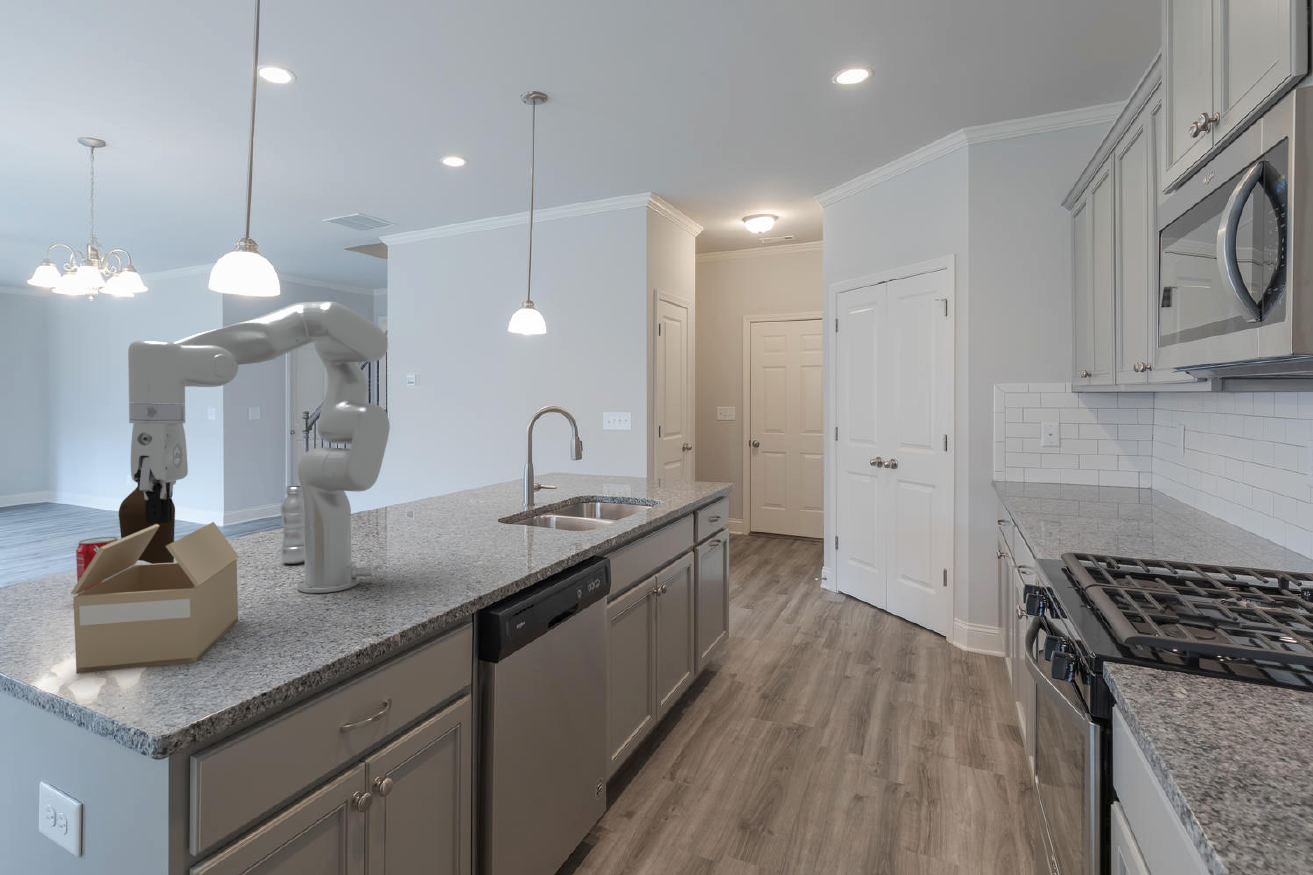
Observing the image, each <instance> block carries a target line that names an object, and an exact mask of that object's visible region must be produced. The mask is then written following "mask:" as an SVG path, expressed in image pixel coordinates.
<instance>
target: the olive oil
mask: <svg viewBox="0 0 1313 875" xmlns="http://www.w3.org/2000/svg"><path fill="white" fill-rule="evenodd" d="M139 487H140V483H137V486H136V487H135V489H134V490H133V491H131V492H130V493H129V494H128V495H127V496H126V497H125V498H124V499H123V500H122V502H121V503H120V506H119V508H118V520H119V530H120V539H122V538H124V537H126V536H129V535H131V534H134V533H136V532H139V531H141V530H143V529H146V528H148V527H151V526H153V525H155V524H158V525H160V526H159V528H158V529H157V531H156V533H155V534H154V536H153V537H152V539H151V540H150V542H149V543H148V545H147V547H146V548H145V550H144V551H143V553H142V554H141V556H140V557H139V559H138V560H140V561H145V562H149V563H151V564H157V563H175V558H174V557H173V556H172V554H171V553H170V552H169V550H168V549H167V548H166V546H167V545H169V544H170V543H172V542H174V541H175V527H176V526H175V524H176V523H175V522H176V521H175V520H176V507H175V504H174V501H173V500H172V521H170V522H167V523H146V504H145V498H144V492H143V491H140V489H139Z"/></svg>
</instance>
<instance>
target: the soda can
mask: <svg viewBox="0 0 1313 875" xmlns="http://www.w3.org/2000/svg"><path fill="white" fill-rule="evenodd" d="M117 540H119V539H118V536H111V535H109V536H98V537H91V538H89V537H88V538H85V539H81V540H78V545H77V547H76V549H75V558H76V559H75V560H76V577H77V578H76V584H77V583H78V581H79V579H80V578H81V576H82V575H83V573H84V572H85V570H86V569H87V567H88V566H89V564H90V563H91V561H92V559H93V558H94V556H95V555H96V553H97V552H98V550H99V549H100V547H102V546H105V545H107V544H110V543H112V542H114V541H117ZM101 582H102V581H101ZM101 582H99V583H97V584H95V585H93V586H91V587H89V588H87V589H85V590H83V591H81V592H79V593H78V594H80V593H82V592H84V591H86V590H88V589H90V588H92V587H94V586H96V585H98V584H100V583H101ZM78 594H77V595H78Z"/></svg>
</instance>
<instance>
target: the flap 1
mask: <svg viewBox="0 0 1313 875" xmlns="http://www.w3.org/2000/svg"><path fill="white" fill-rule="evenodd" d="M159 526H160V525H158V524H155V525H153V526H151V527H148V528H146V529H143V530H141V531H139V532H136V533H134V534H131V535H129V536H126V537H124V538H122V539H121V538H120V539H117V541H114V542H112V543H110V544H107V545H105V546H102V547H100V549H99V550H98V552H97V553H96V555H95V556H94V558H93V559H92V561H91V563H90V564H89V566H88V567H87V569H86V570H85V572H84V573H83V575H82V576H81V578H80V579H79V581H78V583H77V582H76V584H75V585H74V587H73V589H72V590H71V591H70V594H71V595H74V596H76V595H78V593H79V592H81V591H83V590H85V589H87V588H89V587H91V586H93V585H95V584H97V583H99V582H101V581H103V580H105V579H107V578H109V577H111V576H113V575H115V574H117V573H119V572H121V571H123V570H125V569H127V568H129V567H130V566H132V565H134V564H136V562H137V561H138V559H139V557H140V556H141V554H142V553H143V551H144V550H145V548H146V547H147V545H148V543H149V542H150V540H151V539H152V537H153V536H154V534H155V533H156V531H157V529H158V528H159Z"/></svg>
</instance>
